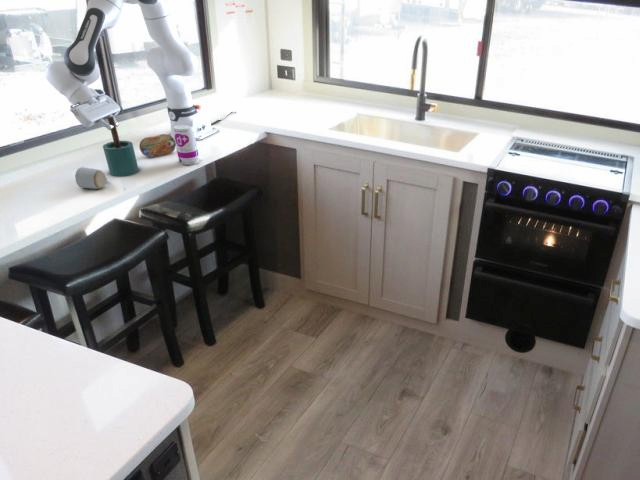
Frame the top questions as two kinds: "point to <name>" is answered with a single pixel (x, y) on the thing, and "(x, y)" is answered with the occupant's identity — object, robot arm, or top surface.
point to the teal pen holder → (121, 159)
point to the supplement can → (186, 144)
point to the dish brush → (114, 133)
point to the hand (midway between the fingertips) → (114, 127)
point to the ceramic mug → (90, 178)
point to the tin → (157, 145)
